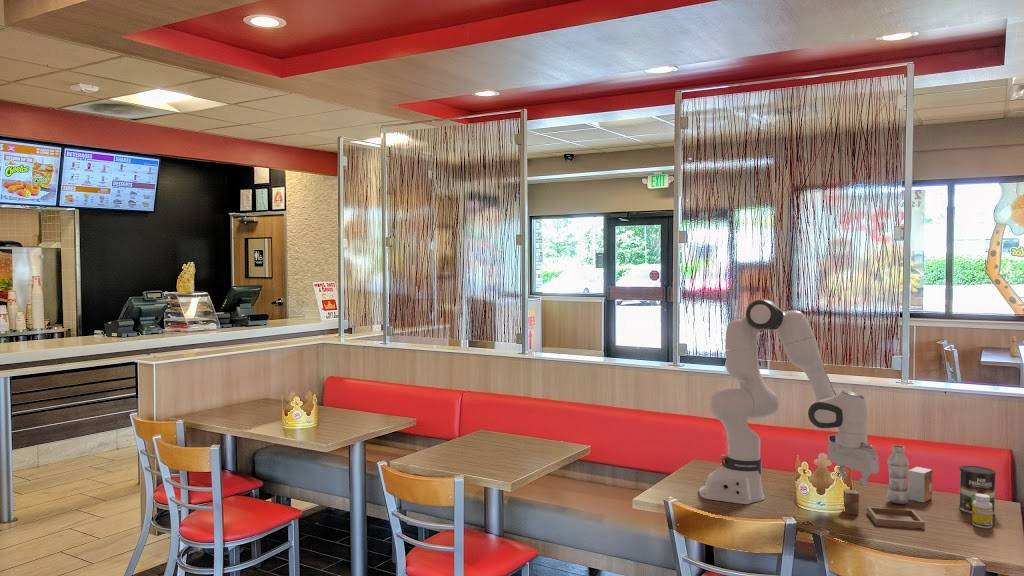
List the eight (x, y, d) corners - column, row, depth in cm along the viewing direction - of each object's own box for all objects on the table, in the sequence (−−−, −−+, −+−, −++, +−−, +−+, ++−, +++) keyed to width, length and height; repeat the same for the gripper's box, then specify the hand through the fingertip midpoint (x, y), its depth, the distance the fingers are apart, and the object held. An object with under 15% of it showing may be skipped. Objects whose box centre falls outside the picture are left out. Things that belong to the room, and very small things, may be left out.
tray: (876, 525, 232) (876, 518, 232) (867, 513, 244) (867, 506, 244) (924, 529, 229) (924, 522, 229) (912, 516, 240) (913, 510, 240)
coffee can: (998, 517, 240) (999, 474, 240) (962, 513, 244) (963, 471, 243) (990, 507, 250) (991, 466, 249) (955, 504, 253) (956, 464, 253)
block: (845, 513, 243) (846, 492, 243) (843, 509, 247) (843, 489, 247) (858, 514, 243) (859, 493, 242) (856, 510, 246) (856, 490, 246)
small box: (924, 503, 254) (924, 473, 254) (906, 499, 258) (907, 470, 258) (932, 498, 260) (933, 469, 259) (915, 495, 264) (916, 466, 264)
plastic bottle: (911, 506, 250) (912, 449, 250) (890, 505, 252) (891, 448, 251) (905, 500, 257) (906, 444, 256) (884, 499, 258) (885, 443, 258)
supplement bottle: (973, 521, 236) (973, 491, 236) (993, 525, 233) (993, 495, 232) (970, 526, 232) (971, 495, 232) (991, 530, 228) (991, 499, 228)
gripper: (883, 446, 235) (884, 488, 235) (839, 433, 255) (840, 473, 255) (867, 447, 234) (867, 490, 234) (824, 435, 253) (824, 474, 253)
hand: (853, 481), depth 244 cm, fingers open, 8 cm apart
